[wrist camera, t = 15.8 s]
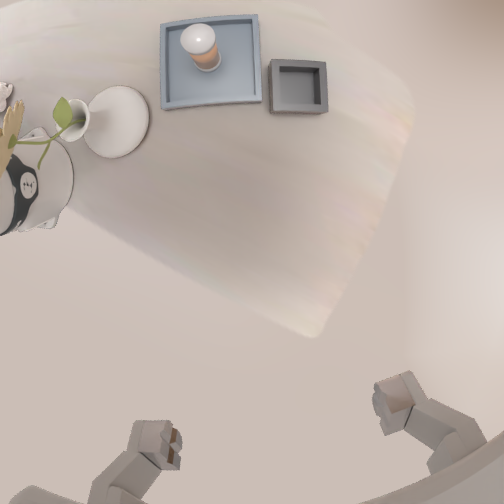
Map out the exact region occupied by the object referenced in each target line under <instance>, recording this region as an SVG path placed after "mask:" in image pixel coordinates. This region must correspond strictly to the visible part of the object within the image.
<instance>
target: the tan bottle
mask: <svg viewBox="0 0 504 504" xmlns="http://www.w3.org/2000/svg"><path fill="white" fill-rule="evenodd" d="M180 42H181V45H182V46H183V48H184V49H185V50H186V52H188V53H189V54H190V56H191V57H192V59H193V60H194V63H195V65H196V67H197V68H198V69H199V70H200V71H202V72H206V73H209V72H213V71H215V70H217V69H218V68H219V66H220V65H221V62H222V59H221V55H220V53H219V51H218V48H217V45H216V37H215V33H214V30H213V29H212V28H211V27H210V26H208V25H206V24H202V23H198V24H193V25H191V26H189V27H187V28H186V29H185V30H184V31H183V33H182V34H181V38H180Z"/></svg>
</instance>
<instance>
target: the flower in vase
mask: <svg viewBox="0 0 504 504" xmlns="http://www.w3.org/2000/svg"><path fill="white" fill-rule="evenodd" d="M23 113H24V106H23V103H22V100H20V102H19V105H18V101H16V103H15V106H14V109H13V111H12V109H11V106H9V107H8V109H7V112H6V115H5V117H4V121H3V129H1V128H0V179H1V177H2V174H3V173H4V171H5V169H6V167H7V165H8V163H9V160H10V157H11V155H12V153H13V150H14V146H15V145H16V144H27V145H43V144H47V143H48V144H47V146H46V148H45V150H44V152H43V154H42V156H41V158H40V160H39V162H38V165H37V167H38V170H40V165H41V161H42V159H43V158H44V156H45V155H46V153H47V151H48V149H49V147H50V143H51V141H52V140H54V139H55V138H56V137H57V136H60V138H61V139H63V140H64V141H68V142H72V141H75V140H77V139H79V138H80V137H81V136H82V135H84V138H85V141H86V143H87V145H88V146H89V147H90V148H91V149H92V150H93V151H94V152H95V153H96V154H98V155H100V156H102V157H106V158H118V157H122V156H124V155H126V154H128V153H130V152H131V151H133V150H134V149H135V148H136V147H137V146H138V145H139V144H140V142H141V141H142V139H143V137H144V136H145V133H146V131H147V127H148V122H149V111H148V107H147V104H146V101H145V100H144V98H143V97H142V95H141V94H140V93H139V92H138V91H136V90H135V89H133V88H131V87H127V86H113V87H110V88H108V89H105V90H104V91H102V92H100V93H99V94H98V95H96V96H95V97H94V98H93V99H92V101H91V102H90V103H89V105H88V106H87V105H86V103H85V102H84V101H82V100H80V99H72V100H70V101H68V102H67V100H66V99H64V98H63V97H61V99H60V100H59V101H58V103H57V105H56V107H55V109H54V112H53V118H54V120H55V121H56V130H57V134H56V135H54V136H53V137H52V138H50V139H49V140H47V141H42V142H32V141H17V137H18V134H19V131H20V127H21V123H22V116H23Z"/></svg>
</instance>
